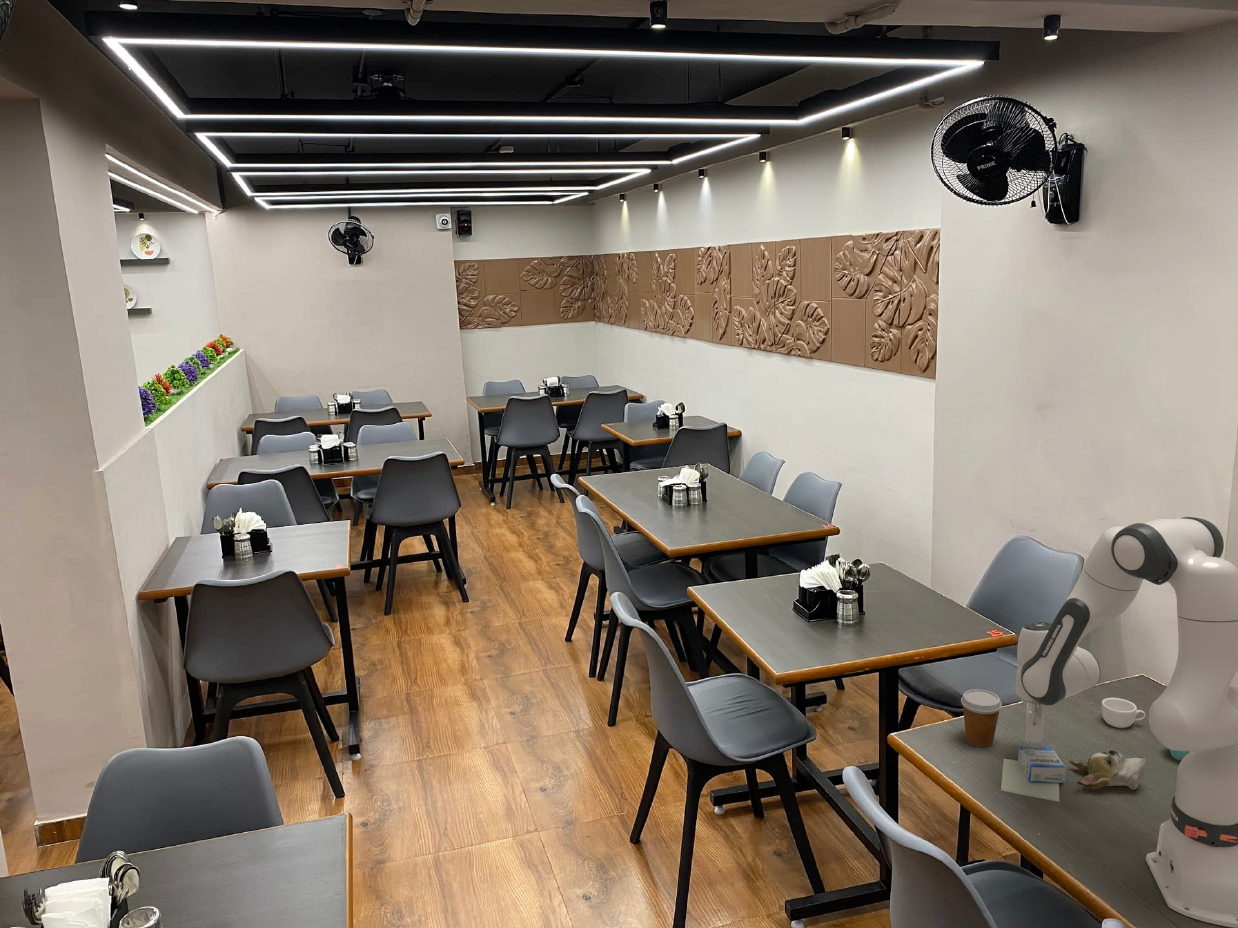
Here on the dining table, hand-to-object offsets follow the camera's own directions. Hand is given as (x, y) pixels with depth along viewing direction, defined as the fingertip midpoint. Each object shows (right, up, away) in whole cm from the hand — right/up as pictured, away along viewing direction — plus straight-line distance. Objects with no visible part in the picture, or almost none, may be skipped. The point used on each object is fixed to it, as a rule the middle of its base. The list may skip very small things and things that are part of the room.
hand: (1032, 741), depth 213 cm
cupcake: (+37, -5, +2) cm, 37 cm away
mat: (-3, -8, -4) cm, 9 cm away
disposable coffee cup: (-7, -4, +13) cm, 16 cm away
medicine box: (+1, -4, +2) cm, 4 cm away
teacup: (+31, -1, +18) cm, 36 cm away
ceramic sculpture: (+14, -8, -7) cm, 18 cm away
